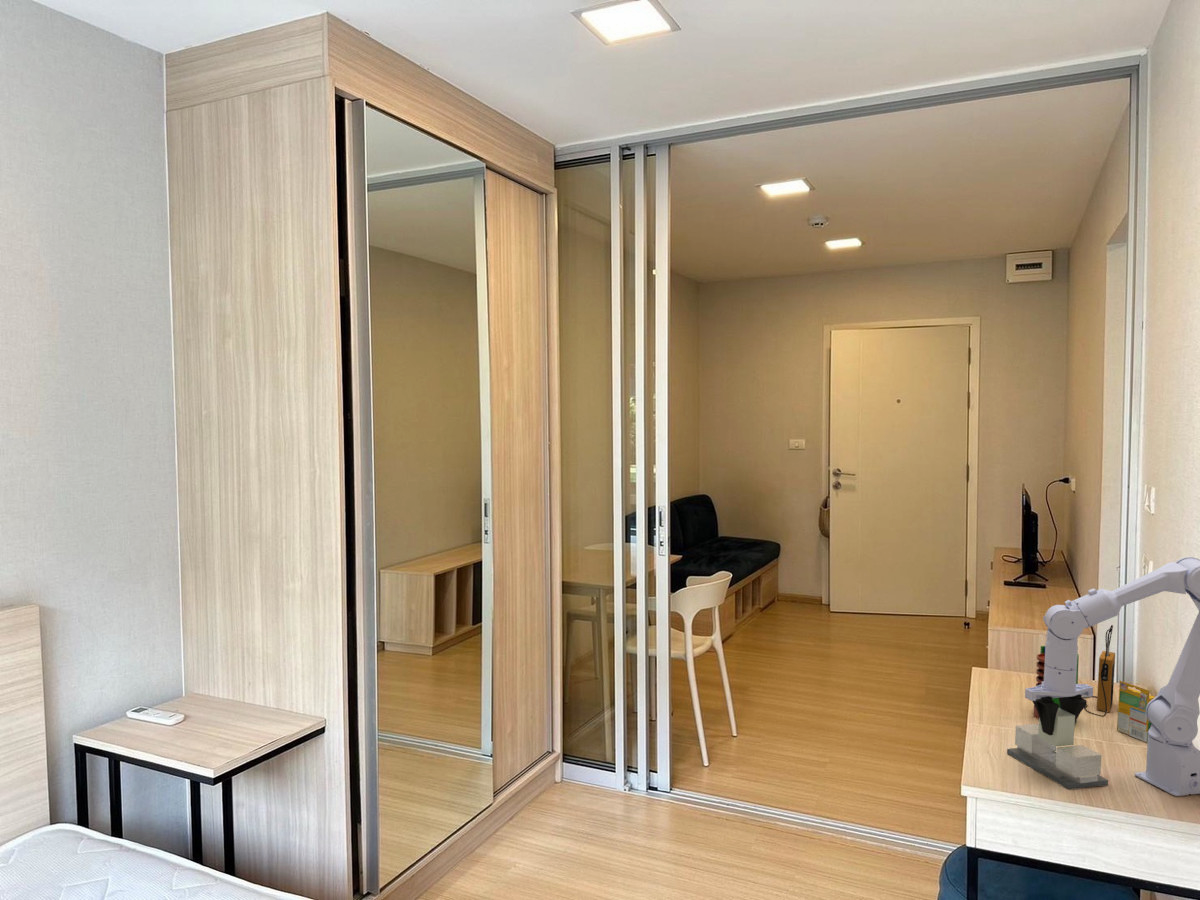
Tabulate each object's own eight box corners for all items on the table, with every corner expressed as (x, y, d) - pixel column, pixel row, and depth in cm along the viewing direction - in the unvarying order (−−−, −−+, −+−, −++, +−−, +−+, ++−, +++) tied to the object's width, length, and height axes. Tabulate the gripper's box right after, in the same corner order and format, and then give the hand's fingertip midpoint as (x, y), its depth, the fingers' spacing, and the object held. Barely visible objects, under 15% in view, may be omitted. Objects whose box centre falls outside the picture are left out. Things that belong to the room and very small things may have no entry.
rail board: (1107, 785, 167) (1109, 754, 167) (1068, 789, 165) (1070, 758, 165) (1043, 750, 184) (1044, 722, 183) (1007, 753, 182) (1008, 725, 181)
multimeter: (1069, 692, 221) (1073, 615, 220) (1114, 700, 215) (1118, 621, 214) (1060, 708, 209) (1064, 627, 208) (1107, 718, 203) (1112, 634, 202)
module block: (1073, 744, 172) (1075, 715, 172) (1056, 746, 171) (1058, 716, 171) (1054, 735, 177) (1056, 706, 177) (1038, 736, 176) (1039, 707, 176)
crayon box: (1156, 741, 190) (1159, 689, 189) (1146, 743, 188) (1149, 690, 188) (1125, 729, 196) (1128, 679, 196) (1116, 730, 195) (1118, 680, 195)
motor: (1025, 709, 208) (1029, 627, 207) (1062, 710, 208) (1066, 628, 206) (1045, 725, 198) (1049, 639, 196) (1085, 726, 197) (1089, 640, 196)
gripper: (1075, 658, 179) (1072, 722, 180) (1015, 662, 175) (1012, 727, 176) (1102, 668, 172) (1099, 735, 173) (1041, 673, 168) (1037, 741, 169)
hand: (1057, 732), depth 174 cm, fingers closed on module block, 4 cm apart
